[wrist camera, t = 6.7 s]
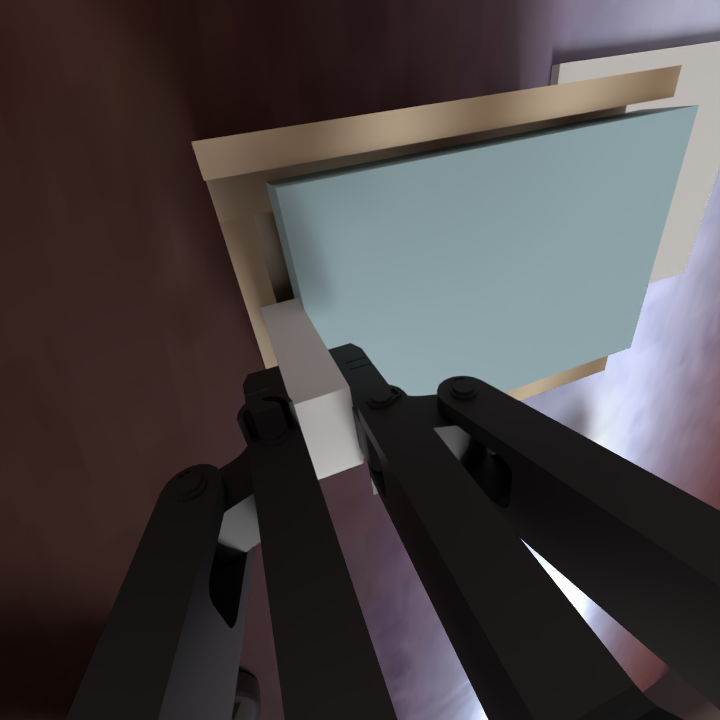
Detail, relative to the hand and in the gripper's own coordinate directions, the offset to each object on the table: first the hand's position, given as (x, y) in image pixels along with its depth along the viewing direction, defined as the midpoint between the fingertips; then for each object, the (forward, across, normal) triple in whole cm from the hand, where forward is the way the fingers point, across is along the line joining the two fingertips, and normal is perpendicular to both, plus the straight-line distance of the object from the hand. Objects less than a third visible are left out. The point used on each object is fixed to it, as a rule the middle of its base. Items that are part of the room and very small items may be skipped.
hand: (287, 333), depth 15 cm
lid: (+1, +9, 0) cm, 9 cm away
